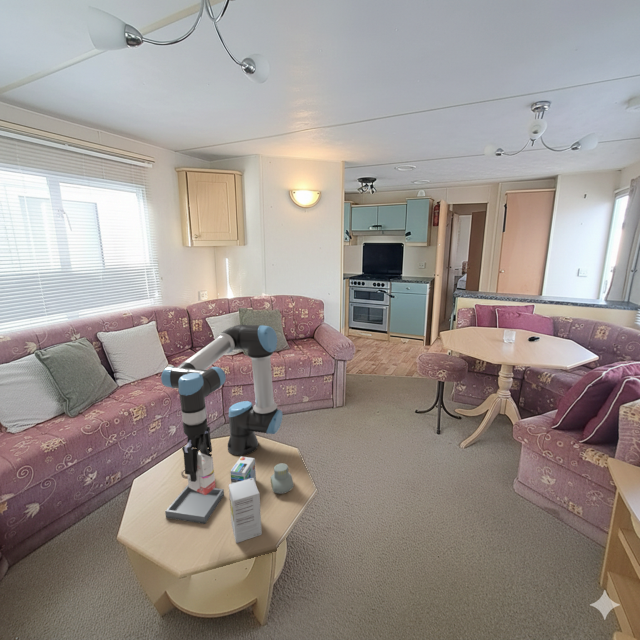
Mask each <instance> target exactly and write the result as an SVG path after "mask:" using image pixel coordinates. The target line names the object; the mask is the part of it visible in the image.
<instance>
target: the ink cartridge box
mask: <svg viewBox="0 0 640 640" xmlns="http://www.w3.org/2000/svg"><path fill="white" fill-rule="evenodd" d="M197 460H198V462H197V470H199V478H200V489H196V488H192V484H191V478H190V475H189V474H186V476H187V477H188V479H187V485H189V488H191V489H193V490H195V491H197V492H199V493H202V494H204V495H207V494H208V493H209V492H210V491H211V490H213V489H214V488H217V486H216V477H215V468H214V459H213V456H211V457H210V456H208V455H205V454H203V453H201V452H200V451H198V454H197Z"/></svg>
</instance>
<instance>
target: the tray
mask: <svg viewBox="0 0 640 640" xmlns="http://www.w3.org/2000/svg"><path fill="white" fill-rule="evenodd" d="M224 491H225V490H224V488H217V487H215V488H214V489H213V490H211V491H210V492H209V493H208V494H207V495H204V494H202V493H199V492H197V491H195V490H193V489H191V488H189V485H188V484H187V485H186V486H185V487H184V489H183V490H182V491H181V492H180V493H179V494H178V496H176V498H175V499H174V500H173V501H172V502H171V503H170V505H169V506H168V507H166V508H167V509H165V513H164V514H165V519H170V520H176V521H177V520H178V521H184V522H188V523H189V522H190V523H195V524H203V525H205V524H206V523H207V522H208V521H209V519H210V518H211V516H212V514H213V513H214V511H215V510H216V509H217V507H218V506H219V504H220V503H221V501H222V499H223V498H224V497H225V492H224Z"/></svg>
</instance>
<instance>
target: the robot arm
mask: <svg viewBox="0 0 640 640" xmlns="http://www.w3.org/2000/svg"><path fill="white" fill-rule="evenodd" d="M277 346H278V336H277V332H276V331H275V329H274V328H273V327H272V326H269V325H263V324H262V325H261V324H238V325H237V324H236V325H234V326H232V327H231V326H230V327H229V328H227V329H225V330H223V331H221V332H220V333H219V334H216V337H215V339H214V340H212V341H211V342H210V343H209V344H207V345H205V346H204V347H203V348H202V349H200V350H198V351H197V352H196V353H194V354H193V355H192V356H191V357H188V358H187V359H186V360H185V361H183V362H182V363H181V364H179V365H177V366H174V365H173V366H167V367H165V368H164V370H162V373H161V377H160V381H161V383H162V385H163V386H164V387H165V388H166V387H167V388H171V389H177V390H178V394H179V400H180V401H179V402H180V409H181V418H182V427H183V433H184V434H185V436H187V441H186V442H187V444H186V445H184V446H182V448H181V450H182V452H183V459H184V461H183V463H184V468H185V471H184V474H185V475H187V474H189V475H190V478H191V484H192V488H196V489H200V478H199V470H197V462H198V460H197V454H198V452H200V453H203V454H205V455H208V456H210V457H213V456H212V451H213V447H212V439H211V427H210V426H208V419H207V416H208V415H207V407H206V397H207V396H209V395H210V394H211V393H213V392H215V391H216V390H218V389H220V388H221V386H223V385H224V384H225V382H226V380H227V379H226V378H227V376H226V373H225V371H224V370H223V369H222V367H219V366H213V367H211V366H212V365H213V364H215V363H216V362H218V360H219V359H221V358H222V357H223V356H224V355H225V354H230V353H231V352H233V351H235V350H244V351H247V357H248V358H250V359H251V367H252V377H253V387H254V388H253V389H254V399H255V404H254V405H253V402H251V401H248V400H245V401H244V400H243V401H238V402H236V403H234V404H232V405H231V406H229V408H228V421H229V423H228V424H229V432H230V434H229V438H228V441H227V451H228V453H229V454H231V455H234V456H246V455H249V454H251V453H253V452H255V451H256V450H257V449H258V448H259V441H258V438H257V435H256V434H255V433H261V434H262V433H263V434H266V435H268V434H269V435H275V434H277V432H278V431H279V429H280V427H281V425H282V421H283V411H282V409H278V404H277V402H275V399H274V388H273V375H272V374H273V373H272V364H271V363H272V362H271V357H272V356H273V354H274V352H275V351H276V349H277Z"/></svg>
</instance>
